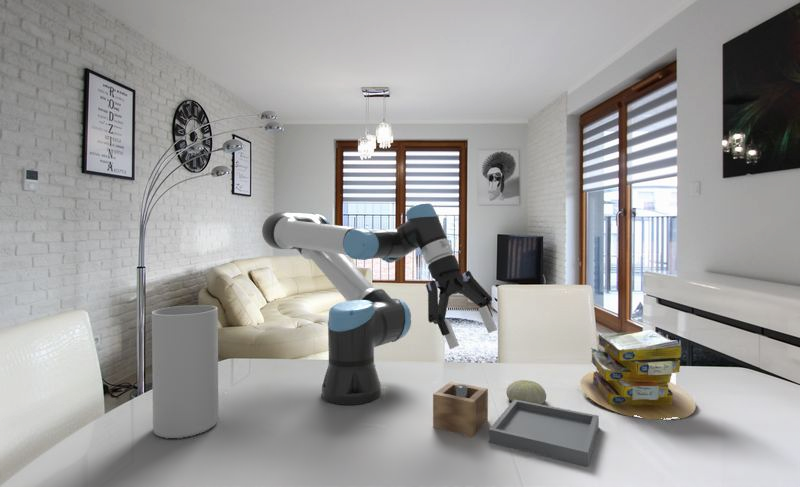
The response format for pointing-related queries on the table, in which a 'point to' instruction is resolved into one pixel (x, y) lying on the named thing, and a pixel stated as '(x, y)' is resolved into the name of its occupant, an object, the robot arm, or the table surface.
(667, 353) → the stack of yellow boxes
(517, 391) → the sea urchin shell
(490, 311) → the robot arm
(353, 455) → the table surface
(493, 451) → the table surface
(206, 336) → the cylinder vase
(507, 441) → the tray
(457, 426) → the wooden light box
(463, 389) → the grey rounded cylinder
